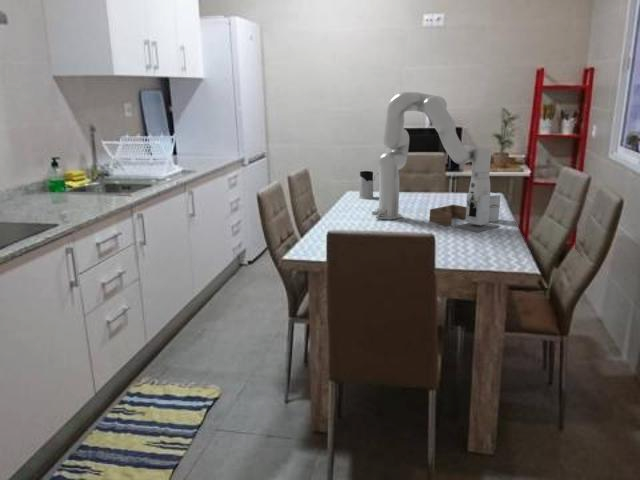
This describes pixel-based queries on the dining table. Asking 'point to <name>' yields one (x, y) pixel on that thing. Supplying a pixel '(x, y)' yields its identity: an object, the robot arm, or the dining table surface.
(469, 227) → the mat
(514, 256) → the dining table surface
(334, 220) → the dining table surface
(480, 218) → the small box
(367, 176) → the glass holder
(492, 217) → the supplement box
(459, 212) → the cubby
